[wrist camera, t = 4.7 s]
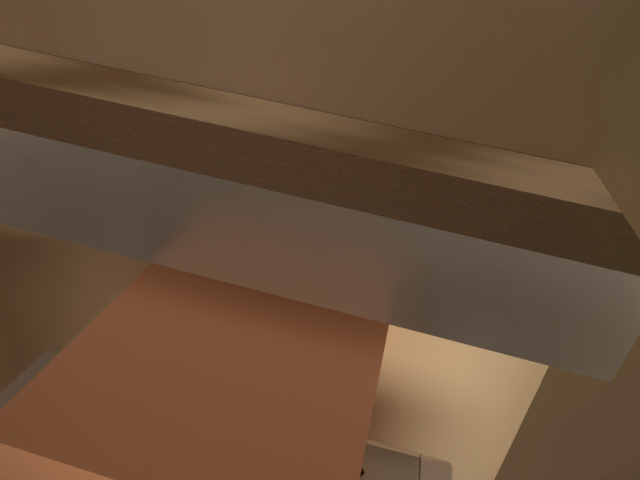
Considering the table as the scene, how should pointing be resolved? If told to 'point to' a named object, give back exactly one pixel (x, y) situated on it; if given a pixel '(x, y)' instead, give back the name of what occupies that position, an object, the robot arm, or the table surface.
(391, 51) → the table surface
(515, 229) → the steel straightedge
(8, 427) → the block
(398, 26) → the table surface
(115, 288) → the birch board
